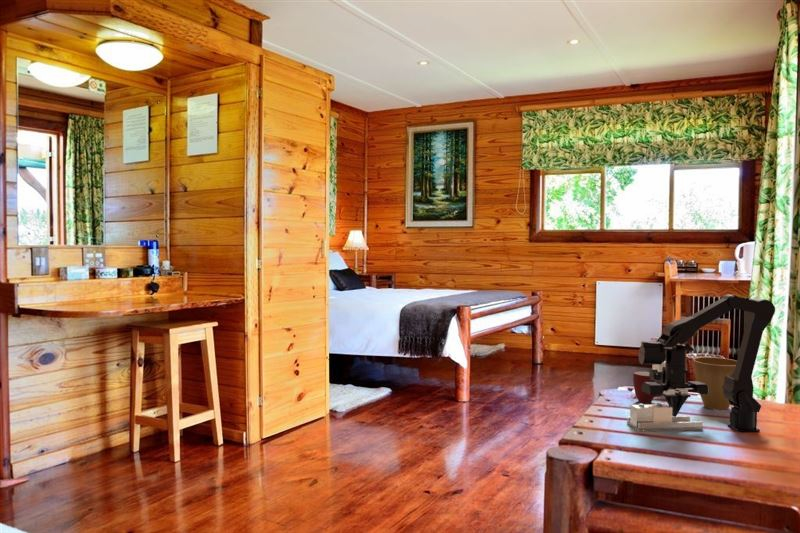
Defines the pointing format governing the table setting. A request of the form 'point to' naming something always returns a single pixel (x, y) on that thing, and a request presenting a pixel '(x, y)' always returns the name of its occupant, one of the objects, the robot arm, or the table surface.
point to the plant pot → (714, 379)
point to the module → (661, 413)
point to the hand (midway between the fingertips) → (674, 416)
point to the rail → (644, 421)
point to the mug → (638, 381)
